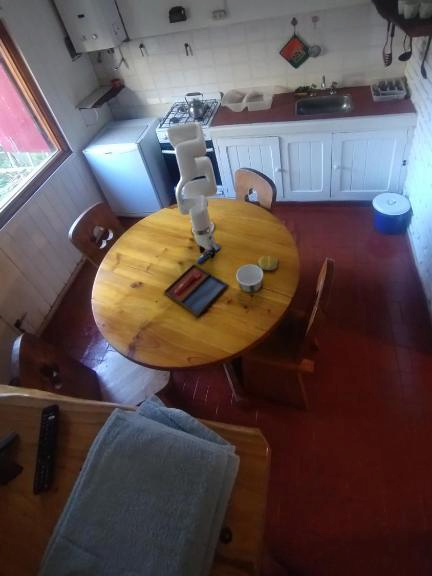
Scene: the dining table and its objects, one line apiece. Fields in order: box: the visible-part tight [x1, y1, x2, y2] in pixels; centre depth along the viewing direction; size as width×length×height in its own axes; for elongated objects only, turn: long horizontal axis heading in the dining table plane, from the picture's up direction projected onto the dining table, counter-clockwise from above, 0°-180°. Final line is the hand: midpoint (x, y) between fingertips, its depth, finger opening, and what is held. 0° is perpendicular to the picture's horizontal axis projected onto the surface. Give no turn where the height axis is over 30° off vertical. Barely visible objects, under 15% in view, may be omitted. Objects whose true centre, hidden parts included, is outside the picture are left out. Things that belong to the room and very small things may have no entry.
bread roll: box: [257, 255, 279, 271], centre depth 164 cm, size 8×9×4 cm
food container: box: [235, 264, 264, 293], centre depth 156 cm, size 12×12×6 cm
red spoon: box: [174, 271, 201, 295], centre depth 162 cm, size 16×4×2 cm, turn 139°
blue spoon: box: [196, 243, 221, 265], centre depth 176 cm, size 16×4×2 cm, turn 139°
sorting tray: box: [163, 263, 229, 318], centre depth 160 cm, size 22×20×2 cm
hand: (208, 254), depth 176 cm, fingers open, 6 cm apart
